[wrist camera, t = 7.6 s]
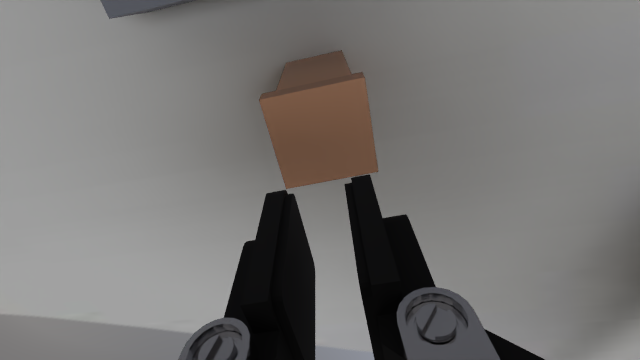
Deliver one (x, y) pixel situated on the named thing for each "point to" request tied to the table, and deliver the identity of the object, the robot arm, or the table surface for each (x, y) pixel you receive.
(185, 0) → the socket box
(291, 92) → the plug
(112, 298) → the table surface
